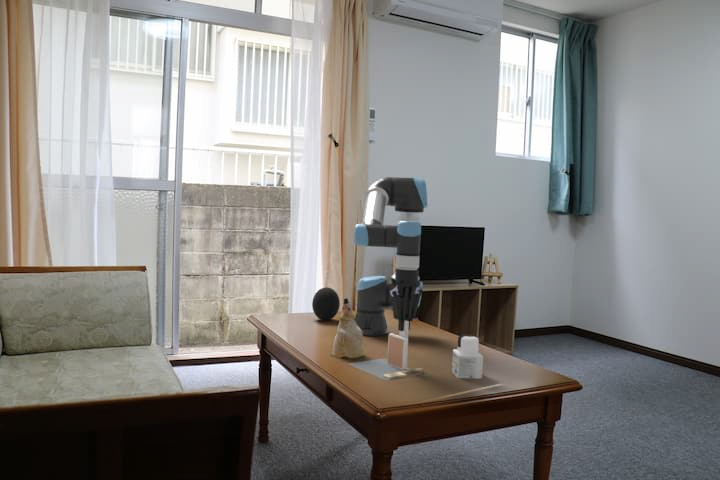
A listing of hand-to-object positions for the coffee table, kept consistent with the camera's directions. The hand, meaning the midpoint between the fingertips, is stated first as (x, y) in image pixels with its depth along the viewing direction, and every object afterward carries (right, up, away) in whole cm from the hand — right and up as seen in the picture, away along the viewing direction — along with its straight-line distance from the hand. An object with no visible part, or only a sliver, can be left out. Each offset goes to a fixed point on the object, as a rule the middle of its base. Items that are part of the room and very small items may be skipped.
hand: (403, 340), depth 183 cm
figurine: (-19, -8, +12) cm, 23 cm away
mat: (-6, -9, -4) cm, 12 cm away
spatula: (-1, -9, -10) cm, 13 cm away
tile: (-2, -8, -1) cm, 9 cm away
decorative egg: (-30, -4, +72) cm, 78 cm away
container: (+19, -11, -6) cm, 23 cm away
